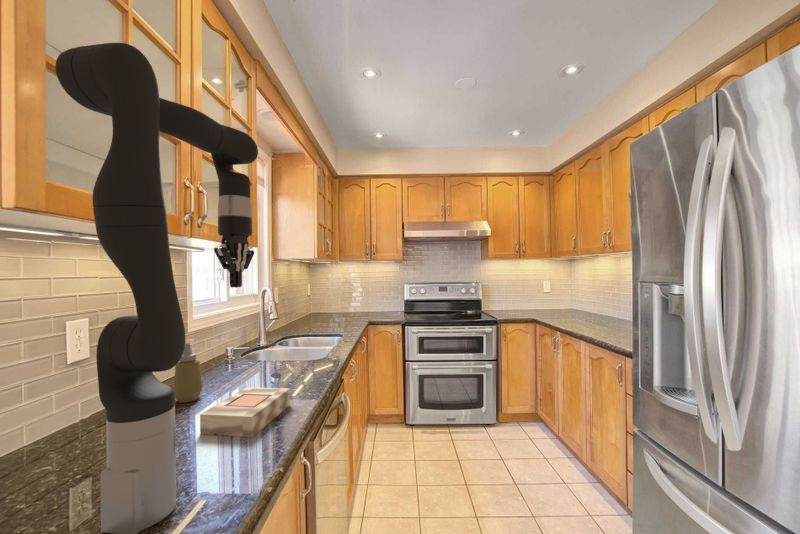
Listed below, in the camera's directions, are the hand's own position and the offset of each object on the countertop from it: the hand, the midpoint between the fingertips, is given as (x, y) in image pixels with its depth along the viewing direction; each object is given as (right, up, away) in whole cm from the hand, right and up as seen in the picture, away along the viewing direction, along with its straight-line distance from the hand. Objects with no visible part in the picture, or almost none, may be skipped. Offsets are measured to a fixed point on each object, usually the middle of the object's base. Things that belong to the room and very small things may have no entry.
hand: (236, 287), depth 84 cm
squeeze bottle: (-28, -38, +26) cm, 54 cm away
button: (-2, -36, +11) cm, 38 cm away
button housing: (-2, -37, +11) cm, 39 cm away
